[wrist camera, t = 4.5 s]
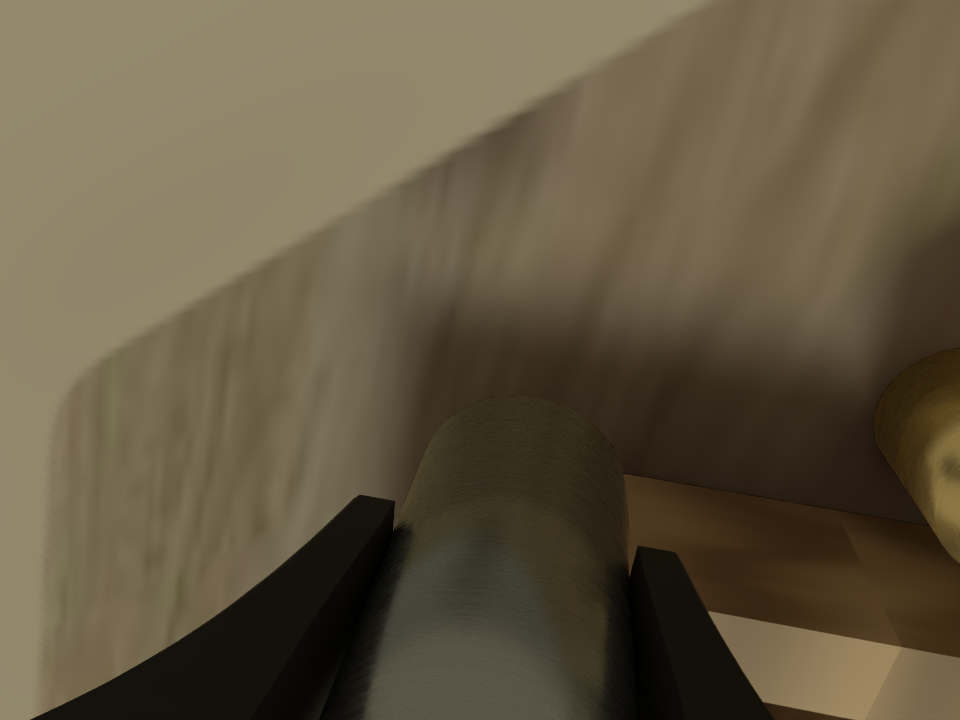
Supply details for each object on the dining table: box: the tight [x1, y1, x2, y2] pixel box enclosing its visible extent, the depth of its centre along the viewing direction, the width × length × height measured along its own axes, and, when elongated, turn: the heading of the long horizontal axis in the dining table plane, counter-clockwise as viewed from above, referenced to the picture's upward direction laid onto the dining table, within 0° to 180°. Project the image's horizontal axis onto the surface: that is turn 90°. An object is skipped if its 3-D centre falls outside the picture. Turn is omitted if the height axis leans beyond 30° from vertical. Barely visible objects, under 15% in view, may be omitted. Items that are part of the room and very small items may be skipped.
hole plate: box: [623, 474, 960, 720], centre depth 21 cm, size 16×11×5 cm
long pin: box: [319, 396, 637, 720], centre depth 10 cm, size 4×4×9 cm
